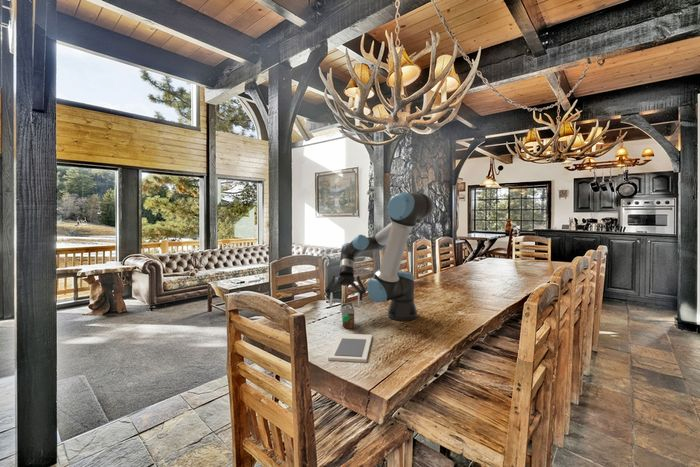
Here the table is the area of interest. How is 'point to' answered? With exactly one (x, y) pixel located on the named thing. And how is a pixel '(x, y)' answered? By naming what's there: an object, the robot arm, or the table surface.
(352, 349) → the board
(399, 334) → the table surface
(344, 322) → the food container
